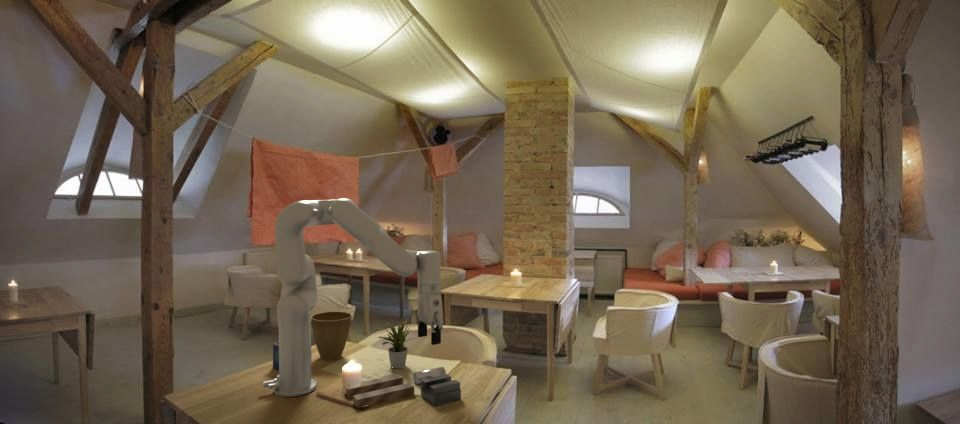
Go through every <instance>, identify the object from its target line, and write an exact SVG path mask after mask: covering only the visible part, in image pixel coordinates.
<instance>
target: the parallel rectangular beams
mask: <svg viewBox="0 0 960 424" xmlns="http://www.w3.org/2000/svg"><path fill="white" fill-rule="evenodd" d="M346 395H347V396H348V397H351V398H353V399H352V401H353V403H354V404H355V406H354V407H355V408H356V409H357V410H358V409H362V408H361V407H362V406H365V405H368V406H367V407H370V406H371V407H372V406H374V405H375V406H376V405H378V404H382V403H386V402H389V401H394V400H399V399H402V398H406V397H407V398H408V397H411V396H414V395H415V385H413V384H412V383H411V382H406V383H404V377H403V376H402V375H401V374H400V373H398V374H393V375H389V376H383V377H380V378H379V377H377V378H375V379H371V380H365V381H361V385H360V386H359V387H356V388H346ZM346 395H345V396H346ZM347 396H346V397H347ZM352 396H353V397H352ZM348 397H347V398H348ZM354 404H353V405H354Z"/></svg>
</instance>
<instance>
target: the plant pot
mask: <svg viewBox="0 0 960 424" xmlns="http://www.w3.org/2000/svg"><path fill="white" fill-rule="evenodd" d="M352 319H353V315H352V313H350V312H346V311H326V312H319V313H314V314H312V315H310V322H311V330H312V333H313V337H314V343H315V346H316V349H317V352H318V354H319V357H320V359H321V360H324V361H334V360H338V359H340V358H342V355H343V352H344V350H345V347H346V345H347V341H348V337H349V334H350V329H351V324H352Z"/></svg>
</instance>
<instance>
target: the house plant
mask: <svg viewBox="0 0 960 424" xmlns="http://www.w3.org/2000/svg"><path fill="white" fill-rule="evenodd" d="M407 321H408V320H405V321H404V322H403V323H402V324H401V322H399V324H398V327H397V331H396V328H395V326H393V325H391V323H389V322H387V321H386V322H385V323H387V324H388V326H389V328H390V330H391V332H390V331H389V330H387V329H386V328H383V327H382V328H381V327H380V329H381V330H382V331H386V333H387V334H386V335H387V336H388V337H386V336H378V337H377V338H378V339H382V340H383V341H384V342H381V344H380V345H382V346H384V345H387V344H390V345H391V347H389V348H388V349H387V350H388V356H389V358H388V359H389V364H390V368H391V367H393V368H392V369H394V368H400V369H403V368H405V367H406V362H407V357H408V351H409V347H407V346H406V344H405V343H406V342H407V341H409V340H412V339H413V340H414V339H415V338H414V337H412V338H411V337H410V338H408V339H406V337H407V336H408V335H409V334H410V333H411V330H410V328H411V326H409V323H407ZM406 323H407V325H406ZM415 340H416V339H415ZM388 341H389V342H388ZM382 346H381V347H382Z"/></svg>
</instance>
